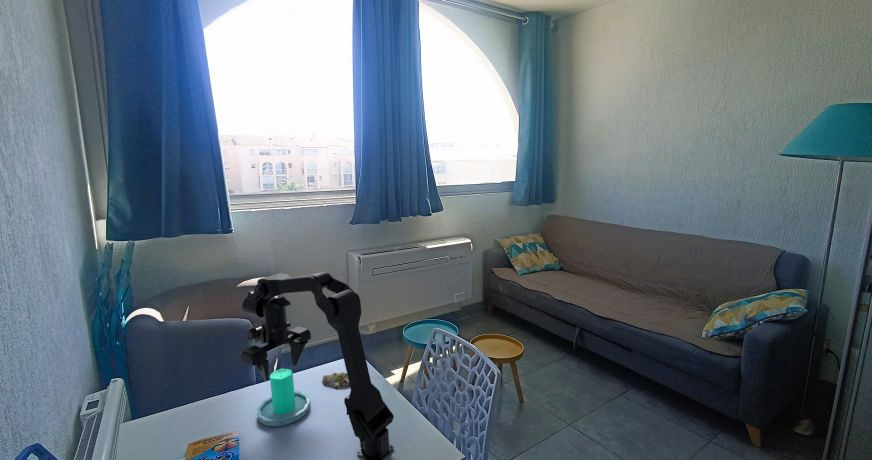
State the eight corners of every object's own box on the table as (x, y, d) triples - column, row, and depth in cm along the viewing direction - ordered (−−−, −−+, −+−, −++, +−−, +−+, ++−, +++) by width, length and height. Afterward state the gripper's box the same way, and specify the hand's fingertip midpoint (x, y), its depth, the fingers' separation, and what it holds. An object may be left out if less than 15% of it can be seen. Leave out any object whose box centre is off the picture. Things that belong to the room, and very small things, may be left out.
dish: (320, 406, 115) (320, 399, 115) (279, 434, 103) (278, 427, 103) (289, 392, 122) (288, 386, 122) (247, 417, 111) (246, 410, 110)
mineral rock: (358, 368, 132) (351, 374, 124) (358, 382, 131) (351, 389, 123) (326, 369, 132) (317, 375, 124) (326, 382, 132) (318, 390, 124)
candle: (287, 415, 109) (283, 375, 107) (268, 412, 111) (264, 373, 108) (299, 402, 115) (296, 364, 113) (281, 400, 116) (277, 362, 114)
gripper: (285, 304, 120) (289, 352, 123) (225, 326, 105) (232, 380, 107) (310, 311, 114) (314, 361, 117) (250, 335, 99) (257, 392, 102)
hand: (280, 372), depth 111 cm, fingers open, 9 cm apart
